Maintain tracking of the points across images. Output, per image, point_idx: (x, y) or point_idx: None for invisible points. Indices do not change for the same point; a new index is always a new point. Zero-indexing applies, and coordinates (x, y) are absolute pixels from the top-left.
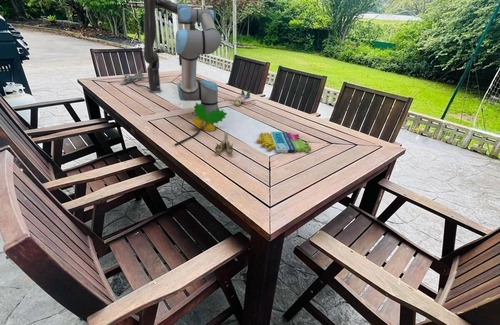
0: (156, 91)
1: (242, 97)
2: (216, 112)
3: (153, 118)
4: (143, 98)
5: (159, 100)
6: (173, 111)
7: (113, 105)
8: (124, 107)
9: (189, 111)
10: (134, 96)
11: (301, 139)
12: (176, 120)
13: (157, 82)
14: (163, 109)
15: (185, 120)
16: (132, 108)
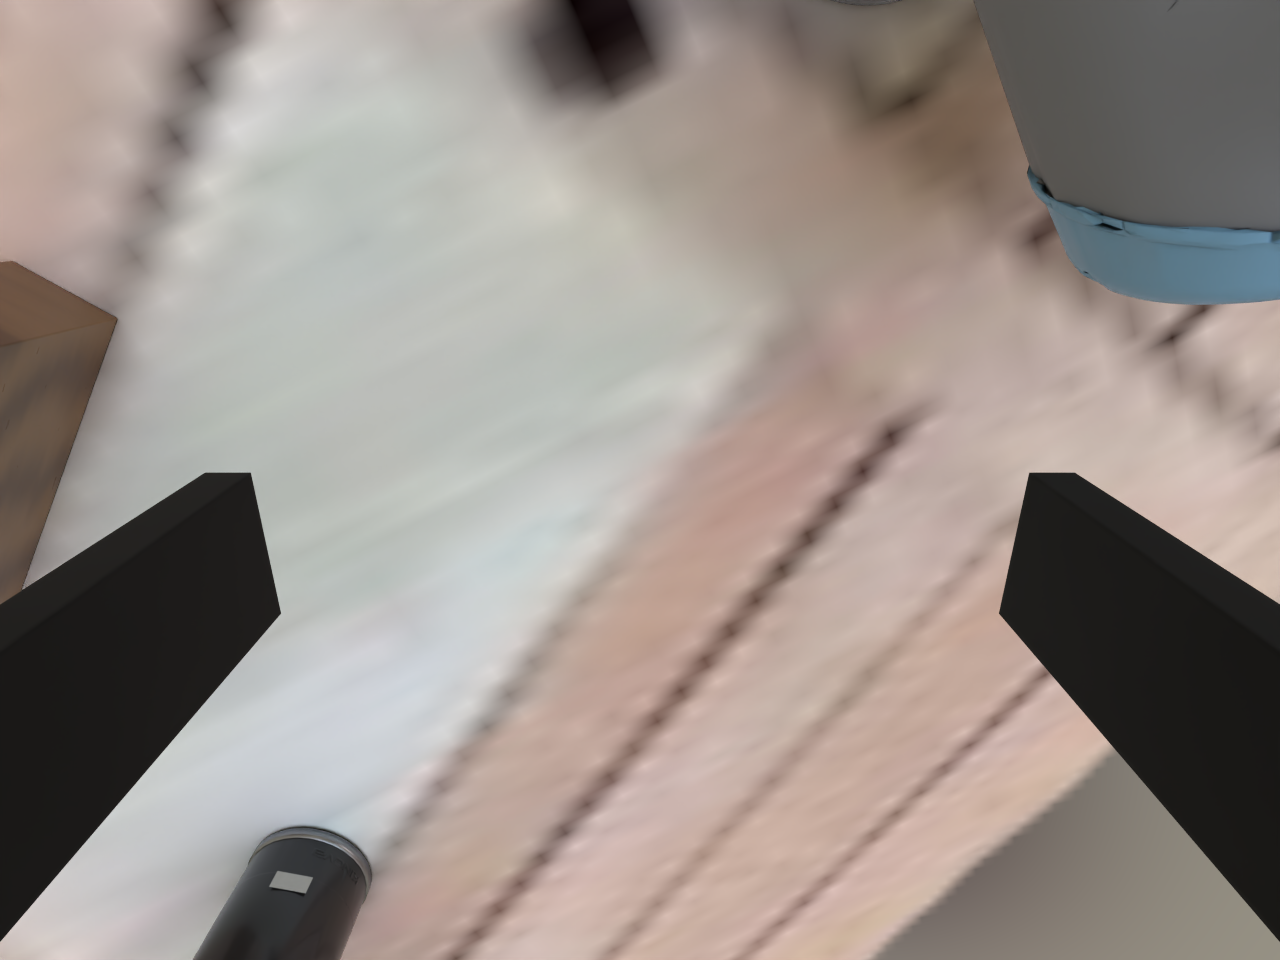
0: (342, 851)
1: None
2: None
3: (1186, 445)
4: (600, 835)
5: (586, 689)
6: (902, 370)
7: (903, 909)
8: (928, 820)
9: (838, 184)
10: (582, 920)
11: None
12: None
13: (275, 936)
14: (868, 503)
15: None
16: (934, 757)
